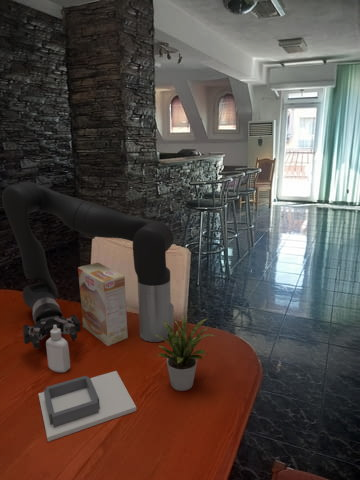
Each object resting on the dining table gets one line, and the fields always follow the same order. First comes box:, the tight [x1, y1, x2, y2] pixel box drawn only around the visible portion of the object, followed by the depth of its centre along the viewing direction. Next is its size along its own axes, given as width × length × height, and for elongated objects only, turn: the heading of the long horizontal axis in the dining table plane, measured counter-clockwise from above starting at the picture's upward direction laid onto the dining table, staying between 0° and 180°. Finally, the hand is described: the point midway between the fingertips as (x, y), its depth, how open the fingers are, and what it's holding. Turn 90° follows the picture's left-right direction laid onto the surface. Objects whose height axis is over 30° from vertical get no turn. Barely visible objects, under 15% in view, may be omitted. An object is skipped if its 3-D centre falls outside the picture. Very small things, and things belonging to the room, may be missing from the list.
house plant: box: [155, 313, 216, 392], centre depth 85 cm, size 14×14×16 cm
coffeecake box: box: [77, 262, 129, 347], centre depth 107 cm, size 15×7×20 cm, turn 41°
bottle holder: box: [38, 370, 137, 442], centre depth 80 cm, size 18×14×4 cm
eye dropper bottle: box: [45, 325, 71, 373], centre depth 91 cm, size 4×6×12 cm
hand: (56, 341), depth 92 cm, fingers open, 8 cm apart
